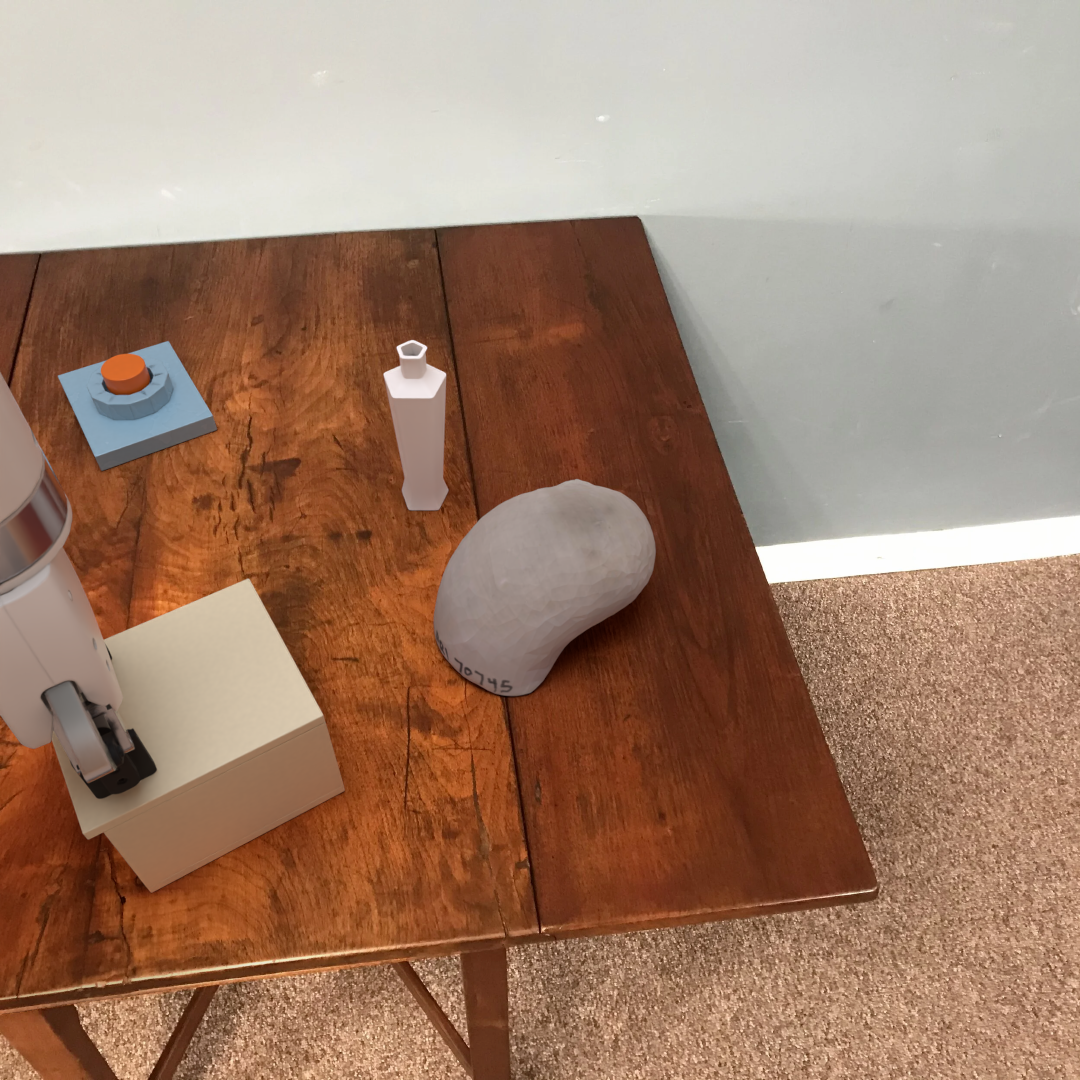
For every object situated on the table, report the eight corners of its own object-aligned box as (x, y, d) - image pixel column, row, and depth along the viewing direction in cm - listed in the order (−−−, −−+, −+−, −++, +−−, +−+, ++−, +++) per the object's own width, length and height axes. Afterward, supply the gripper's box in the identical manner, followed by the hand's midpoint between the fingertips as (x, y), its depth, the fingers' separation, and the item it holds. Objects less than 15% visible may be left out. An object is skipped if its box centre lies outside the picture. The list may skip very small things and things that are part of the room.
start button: (113, 401, 79) (107, 385, 78) (101, 377, 81) (95, 361, 80) (156, 387, 81) (150, 371, 79) (143, 364, 83) (137, 348, 81)
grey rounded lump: (630, 665, 76) (668, 484, 72) (622, 736, 62) (667, 518, 59) (448, 627, 77) (477, 448, 74) (401, 688, 64) (433, 472, 60)
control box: (101, 471, 78) (87, 440, 76) (64, 390, 85) (49, 359, 82) (217, 430, 82) (207, 399, 79) (173, 355, 89) (163, 324, 86)
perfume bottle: (453, 474, 79) (445, 329, 68) (451, 513, 77) (443, 367, 65) (398, 474, 79) (381, 328, 68) (395, 513, 76) (376, 367, 65)
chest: (151, 893, 56) (103, 833, 49) (96, 744, 62) (47, 672, 56) (345, 790, 61) (325, 722, 54) (276, 661, 67) (251, 585, 60)
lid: (87, 840, 49) (52, 798, 45) (33, 678, 55) (-2, 629, 51) (325, 722, 54) (312, 675, 50) (251, 585, 60) (234, 534, 56)
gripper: (-163, 422, 42) (0, 642, 56) (-98, 711, 33) (79, 891, 47) (11, 367, 45) (126, 589, 59) (117, 620, 36) (225, 815, 49)
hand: (104, 722), depth 52 cm, fingers open, 7 cm apart
